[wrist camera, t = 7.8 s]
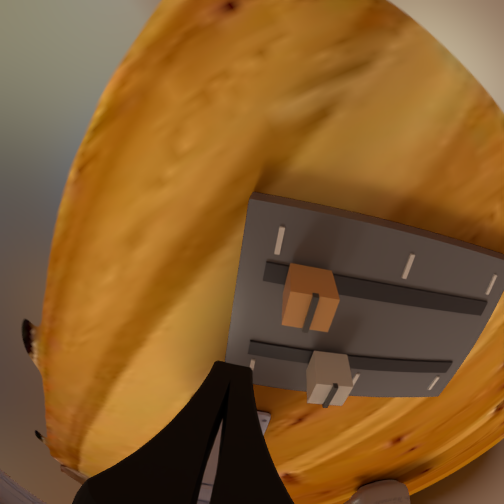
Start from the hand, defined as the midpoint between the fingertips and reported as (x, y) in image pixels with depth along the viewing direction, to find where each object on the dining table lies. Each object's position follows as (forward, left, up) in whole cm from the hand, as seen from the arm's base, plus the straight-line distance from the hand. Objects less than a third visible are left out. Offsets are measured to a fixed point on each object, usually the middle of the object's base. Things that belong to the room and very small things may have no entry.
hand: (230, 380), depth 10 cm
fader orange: (+1, -3, -7) cm, 8 cm away
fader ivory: (-5, -6, -7) cm, 11 cm away
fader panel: (-2, -9, -10) cm, 13 cm away
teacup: (-37, -26, -10) cm, 46 cm away
